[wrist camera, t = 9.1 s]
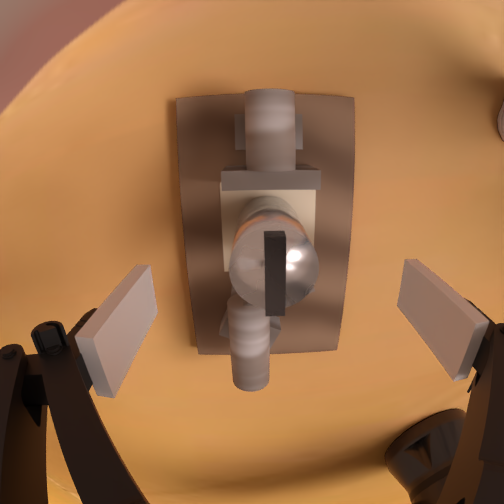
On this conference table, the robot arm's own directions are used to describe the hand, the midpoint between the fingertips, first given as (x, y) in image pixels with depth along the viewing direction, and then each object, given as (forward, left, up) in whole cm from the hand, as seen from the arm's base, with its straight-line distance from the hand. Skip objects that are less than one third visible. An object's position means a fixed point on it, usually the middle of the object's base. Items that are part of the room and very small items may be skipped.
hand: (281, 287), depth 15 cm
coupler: (+1, 0, -9) cm, 9 cm away
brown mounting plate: (-1, 0, -10) cm, 10 cm away
